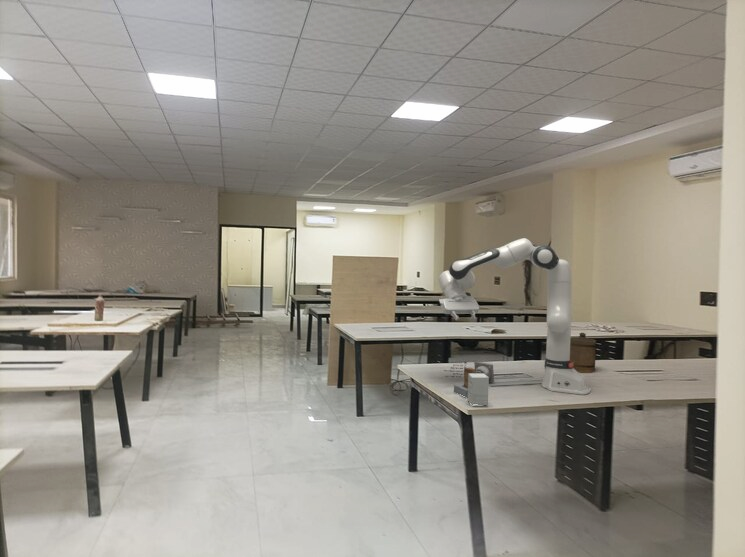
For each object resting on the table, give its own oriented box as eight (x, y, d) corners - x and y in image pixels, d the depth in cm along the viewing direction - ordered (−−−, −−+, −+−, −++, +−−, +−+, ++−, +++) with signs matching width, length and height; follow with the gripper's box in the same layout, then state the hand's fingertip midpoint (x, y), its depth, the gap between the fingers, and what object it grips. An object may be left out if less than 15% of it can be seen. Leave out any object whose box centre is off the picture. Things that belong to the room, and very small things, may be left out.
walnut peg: (469, 392, 225) (470, 367, 224) (474, 394, 221) (475, 369, 221) (463, 393, 223) (464, 368, 223) (467, 395, 220) (468, 369, 219)
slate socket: (471, 390, 229) (471, 383, 229) (484, 396, 220) (484, 388, 219) (453, 392, 225) (454, 384, 225) (465, 398, 216) (466, 390, 215)
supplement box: (483, 401, 211) (484, 373, 211) (488, 406, 204) (489, 377, 203) (467, 401, 211) (467, 372, 210) (471, 406, 203) (472, 377, 203)
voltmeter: (492, 380, 250) (493, 361, 250) (496, 386, 239) (496, 366, 238) (441, 378, 252) (442, 359, 252) (442, 383, 241) (443, 364, 241)
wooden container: (598, 370, 280) (600, 333, 279) (589, 374, 269) (591, 335, 268) (572, 366, 290) (574, 330, 289) (563, 369, 279) (564, 332, 279)
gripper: (440, 293, 237) (450, 315, 229) (474, 293, 245) (485, 314, 237) (435, 301, 241) (445, 323, 233) (469, 301, 249) (479, 322, 241)
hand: (465, 319), depth 235 cm, fingers open, 8 cm apart
